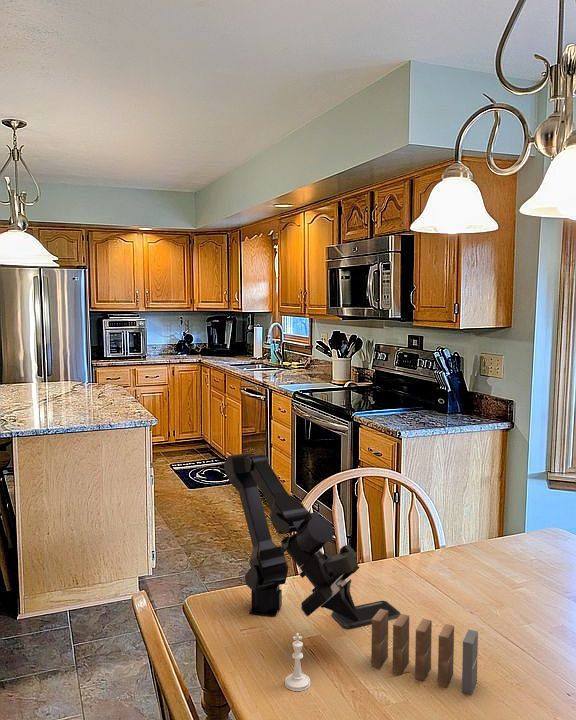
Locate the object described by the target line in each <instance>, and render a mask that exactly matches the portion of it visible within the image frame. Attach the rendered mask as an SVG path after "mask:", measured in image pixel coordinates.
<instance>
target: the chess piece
mask: <svg viewBox="0 0 576 720" xmlns="http://www.w3.org/2000/svg"><path fill="white" fill-rule="evenodd" d="M292 640H293V642H292V648H293V650H294V652H293V653H292V655H291V657H292V658H293V660H294V667H293V672H292V673H291V674H288V675H287V676H286V678H285V682H284V685H285V687H286V688H287V689H288V690H290V691H293V692H301V691H305V690H308V689H309V688H310V686H311V679H310V677H309V676H308V675H307V674H305V673H303V671H302V664H301V659H303V658H304V655H303V652H302V648H303V645H304V643H303V642H302V641H300V640H303V636H302V635H300V634H299V632H297V633H295V636H292Z"/></svg>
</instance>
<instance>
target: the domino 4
mask: <svg viewBox="0 0 576 720" xmlns="http://www.w3.org/2000/svg"><path fill="white" fill-rule="evenodd" d="M437 647H438V653H437V654H438V656H437V666H438V667H437V686H438V687H441V688H445V689H448V687H449V685H450V683H451V680H452V678H453V676H454V655H455V652H454V651H455V649H454V648H455V626H454V625H452V624H447V623H444V624H443V626H442V629H441V631H440V632H439V634H438V646H437Z"/></svg>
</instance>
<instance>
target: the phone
mask: <svg viewBox="0 0 576 720" xmlns="http://www.w3.org/2000/svg"><path fill="white" fill-rule="evenodd" d="M355 607H356V610H357V612H358V615H359V617H360V618H359V620H358V621H357V622H354V621H352V620H350V619H348V618H346V617H344V616H342V615H340V614H338V613H336V612H334V611H332V612H331V617H332V618H333V619H334V620H335V621H336V622H337V623H338V624H339V625H340V626H341V627H342V629H345V630H352V629H353V630H354V629H358V628H361V627H365V626H370V625H371V626H372V618H373V617H374V616H375V615H376V613H377V612H378V611H379V609H384V610H388V622H389V621H392V620H397V618H398V617H399V616H400V614H401V612H400V611H399V610H398V609H397V608H395V607H394V606H393V605H392V604H390V602H388V601H386V600H378V601H374V602H369V603H364V604H360V605H355Z"/></svg>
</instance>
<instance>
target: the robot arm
mask: <svg viewBox="0 0 576 720" xmlns="http://www.w3.org/2000/svg"><path fill="white" fill-rule="evenodd" d="M269 462H270V461H269V458H268V456H267V455H266V454H262V453H261V454H254V453H253V452H245V453H239V454H231V455H228V456H227V458H226V460H225V461H224V462H223V463H224V464H223V470H224V472H225V474H226V476H227V479H228V481H229V483H230V484H231V485H232V486H233V487H234V488H235V489H236V490H237V492H238V494H239V498H240V503H241V506H242V510H243V514H244V517H245V522H246V525H247V526H246V527H247V529H248V533H249V537H250V541H251V545H252V552H251V554H250V558H249V566H250V568H249V570H247V572H246V573H245V575H244V580H245V585H246V587H248V588H249V589H250V590H251V594H250V595H251V608H250V610H249V614H250V615H259V616H267V617H268V616H269V617H276V616H277V614H278V612H279V611H280V610H281V608H282V605H283V601H282V600H283V597H282V596H283V592H282V591H283V590H282V588H281V587H280V585H286V581H287V577H288V573H289V564H288V561H287V559H286V556H285V553H286V552H287V554H288V555H289V556H290V558H291V559H292V560H293V561H294V563H295V565H296V566H297V567H298V568H299V570H301V572H300V573H299V576H300V577H301V579H303V578H305V577H306V578H307V579H308V581H309V583H311V585H312V586H313V587H314V588H313V589H312V590H311V592H312V593H311V594H309V595H308V596H307V597H306V598H304V600H303V601H302V602H301V606H300V609H301V611H302V612H303V613H304V615H305V616H306V617H309V616H310V615H311V614H312V613H314V612H315V611H317V610H318V609H319V608H321V609H324V608H325V609H327V610H329V611H332V612H333V611H334V612H336V613H338V614H340V615H342V616H344V617H346V618H348V619H350V620H352V621H354V622H357V621H358V620H359V618H360V617H359V615H358V612H357V610H356V607H355V606H356V605H355V603H354V600H353V597H352V595H351V591H350V590H351V584H352V579H349V580H348V581H346V579H348V578H349V577H350V576H351V575H353V574H355V573H356V572H357V571H358V570H359V569H360V566H359V564H358V561H357V558H356V557H358V552H356V551H355V550H354V548H352V547H351V546H350V545H349V544H346V545H342V547H341V548H339V553H337V554H335V555H333V556H332V555H331V554H330V553H329V552H327V551H325V552H324V553H323V552H322V551H321V549H322V548H323V547H324V546H325V545H327V544H328V543H329V542H330V541H331V540H332V539H333V537H334V533H335V532H334V531H335V530H334V528H333V525H332V524H331V523H330V521H329V520H327V519H326V518H325V517H323V516H320V514H319V512H318V511H314V512H310V511H309V510H308V509H307V508H306V507H305V505H304V504H303V503H302V502H301V501H300V499H299V498H297V497H295V496H293V495H291V494H289V493H288V491H287V490H286V489H285V487H284V485H283V484H282V482H281V480H280V478H279V477H278V475H277V474H276V473H275V471H274V469H273V468H272V466H271V465H270V463H269ZM259 490H260V491H259ZM260 492H261V493H262V495H263V497H264V499H265V500H266V502H267V504H268V505H269V508H270V515H269V518H270V520H271V523H272V526H273V529H275V531H276V532H277V533H278V535H286V534H291V533H293V534H292V535H291V536H288V535H287V536H286V537H284V538H283V539H282V540H281V541H280V544H281V545H276V544H275V543H274V542H273V540H272V536H271V535H272V534H271V531H270V528H269V524H268V522H267V521H268V520H267V517H266V513H265V510H264V506H263V503H262V499H261V495H260Z"/></svg>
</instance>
